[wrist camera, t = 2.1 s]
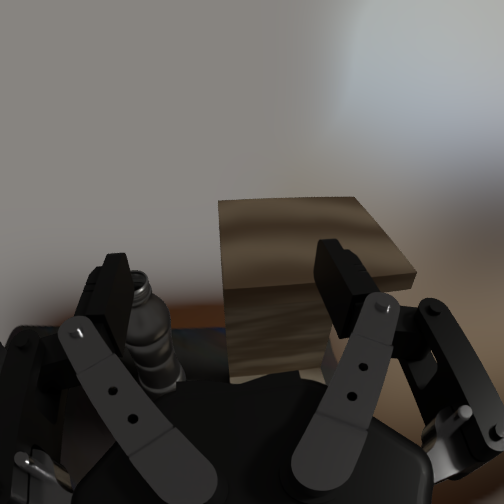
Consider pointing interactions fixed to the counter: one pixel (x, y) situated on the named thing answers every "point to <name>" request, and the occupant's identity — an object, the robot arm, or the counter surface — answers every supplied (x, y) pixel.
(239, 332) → the cubby shelf
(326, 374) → the counter surface
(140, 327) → the plastic bottle
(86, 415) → the counter surface
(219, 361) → the counter surface
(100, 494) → the robot arm
